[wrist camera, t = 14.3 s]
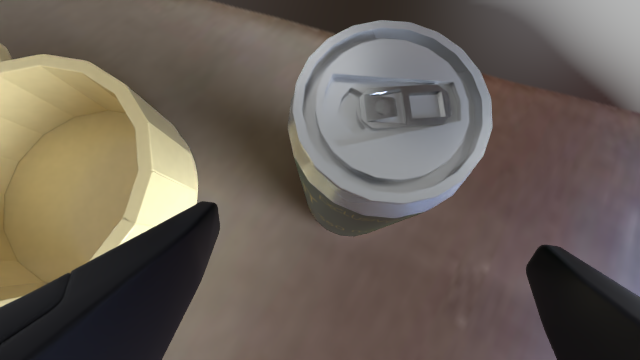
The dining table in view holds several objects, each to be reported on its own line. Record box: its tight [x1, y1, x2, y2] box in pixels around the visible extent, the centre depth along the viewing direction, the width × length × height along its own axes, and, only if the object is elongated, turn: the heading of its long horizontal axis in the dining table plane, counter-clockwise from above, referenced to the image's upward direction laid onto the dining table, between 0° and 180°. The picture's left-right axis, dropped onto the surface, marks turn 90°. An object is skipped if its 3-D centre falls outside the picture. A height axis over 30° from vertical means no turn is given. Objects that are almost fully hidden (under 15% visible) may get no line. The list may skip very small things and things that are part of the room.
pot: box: [0, 43, 198, 307], centre depth 16 cm, size 12×18×6 cm
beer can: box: [288, 20, 492, 236], centre depth 13 cm, size 5×5×12 cm
